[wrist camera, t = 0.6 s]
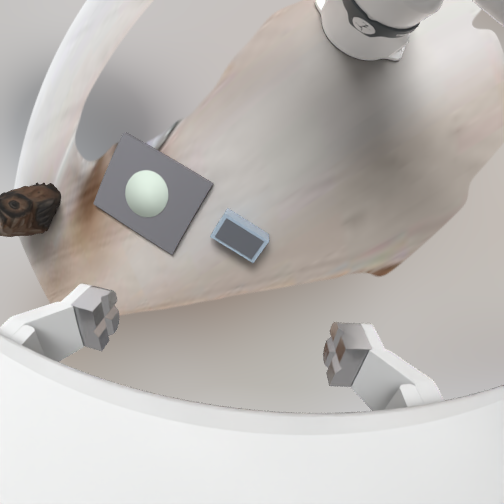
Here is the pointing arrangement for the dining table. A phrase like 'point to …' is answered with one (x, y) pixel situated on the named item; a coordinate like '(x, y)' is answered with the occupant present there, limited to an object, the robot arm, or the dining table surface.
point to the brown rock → (28, 210)
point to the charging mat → (151, 192)
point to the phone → (240, 235)
